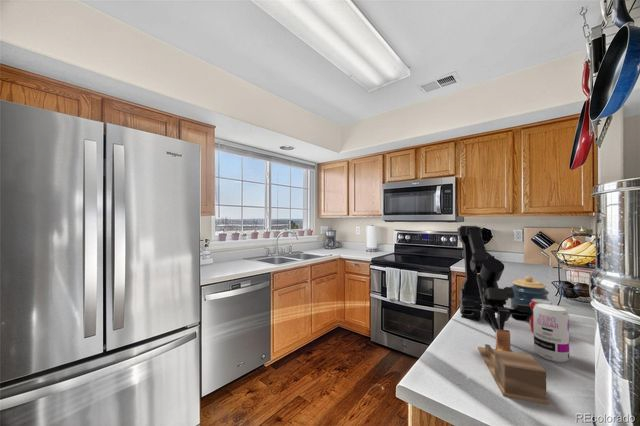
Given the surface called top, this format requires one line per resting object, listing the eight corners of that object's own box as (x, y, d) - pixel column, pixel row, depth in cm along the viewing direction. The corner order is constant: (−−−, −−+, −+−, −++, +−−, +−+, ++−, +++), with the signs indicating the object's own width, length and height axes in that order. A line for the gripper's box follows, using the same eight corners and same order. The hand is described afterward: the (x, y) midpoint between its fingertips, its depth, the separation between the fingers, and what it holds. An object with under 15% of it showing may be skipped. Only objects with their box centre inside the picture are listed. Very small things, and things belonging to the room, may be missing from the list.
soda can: (560, 339, 91) (559, 304, 91) (537, 337, 92) (536, 303, 92) (546, 330, 97) (546, 298, 98) (525, 328, 99) (525, 297, 99)
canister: (531, 311, 117) (530, 272, 117) (558, 323, 104) (557, 279, 104) (503, 311, 117) (502, 272, 117) (527, 323, 104) (526, 279, 104)
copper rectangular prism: (496, 359, 75) (495, 328, 76) (509, 361, 74) (508, 330, 75) (513, 387, 63) (513, 350, 63) (529, 390, 62) (529, 352, 62)
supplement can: (562, 352, 82) (561, 304, 82) (574, 365, 74) (573, 313, 74) (530, 346, 85) (529, 301, 85) (539, 359, 78) (538, 309, 78)
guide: (477, 349, 84) (477, 326, 84) (510, 353, 81) (510, 330, 81) (503, 395, 62) (502, 365, 62) (549, 404, 59) (548, 372, 59)
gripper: (461, 274, 84) (469, 321, 74) (530, 278, 78) (549, 330, 68) (456, 291, 92) (463, 336, 81) (519, 297, 86) (535, 346, 75)
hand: (500, 337), depth 76 cm, fingers closed
